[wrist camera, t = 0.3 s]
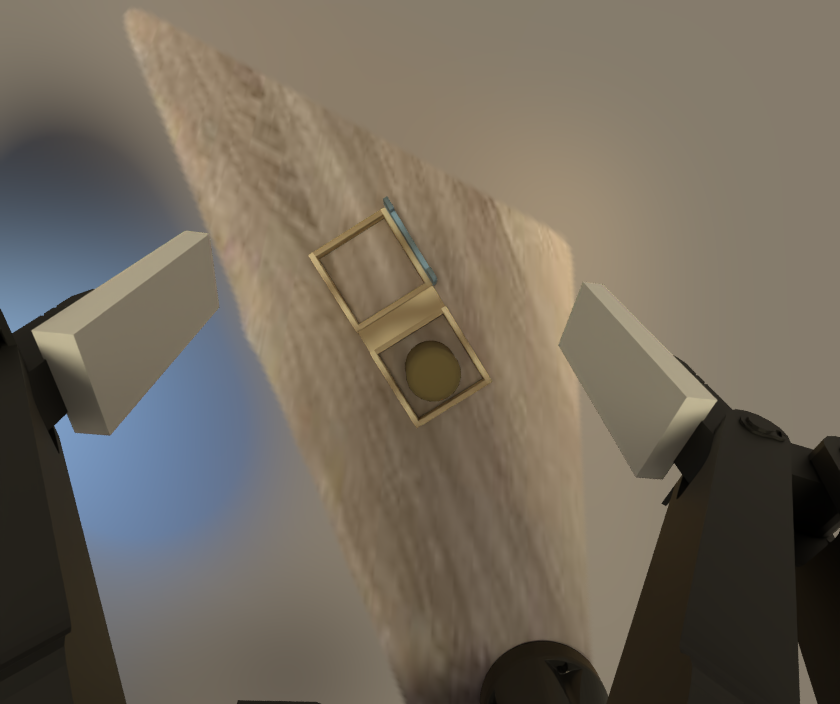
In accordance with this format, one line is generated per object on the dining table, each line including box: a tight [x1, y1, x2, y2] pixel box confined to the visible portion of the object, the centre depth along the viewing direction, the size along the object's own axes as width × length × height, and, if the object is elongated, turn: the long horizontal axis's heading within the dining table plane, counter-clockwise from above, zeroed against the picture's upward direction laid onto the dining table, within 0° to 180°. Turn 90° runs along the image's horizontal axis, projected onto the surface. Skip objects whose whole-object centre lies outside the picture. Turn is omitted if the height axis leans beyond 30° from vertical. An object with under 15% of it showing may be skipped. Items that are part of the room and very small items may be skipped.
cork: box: [405, 341, 461, 401], centre depth 43 cm, size 6×6×11 cm
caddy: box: [308, 197, 492, 428], centre depth 46 cm, size 23×11×4 cm, turn 32°
